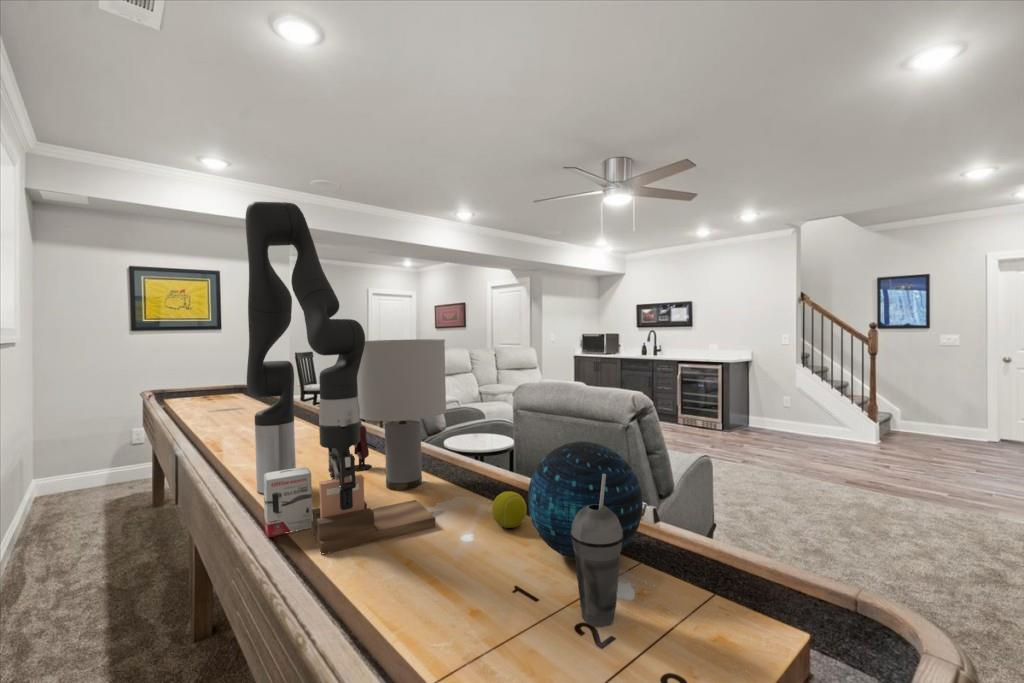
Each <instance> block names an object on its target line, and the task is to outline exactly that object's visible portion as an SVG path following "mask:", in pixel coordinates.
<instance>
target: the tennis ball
mask: <svg viewBox="0 0 1024 683" xmlns="http://www.w3.org/2000/svg"><path fill="white" fill-rule="evenodd" d="M527 508H528V507H527V503H526V501H525V499H524V498H523V497H522V495H520V494H519V493H517V492H515V491H503V492H501V493H500V494H498V495H497V496H496V497H495V498H494V499H493V502H492V506H491V512H492V517H493V518H494V521H495V522H496V523H497V525H498V526H500V527H503V528H505V529H512V528H516V527H518V526H520V525H521V524H523V522H524V520H525V519H526V516H527V510H528V509H527Z"/></svg>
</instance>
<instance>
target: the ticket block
mask: <svg viewBox="0 0 1024 683" xmlns="http://www.w3.org/2000/svg"><path fill="white" fill-rule="evenodd" d="M367 507H368V504H367V502H366V501H365V500H364V509H363V510H358V511H353V512H348V513H343V514H338V515H333V516H328V517H324V518H320V507H317V508H312V528H311V532H312V534H313V538H314V537H315V538H314V540H315V542H317V543H316V545H317V544H318V545H317V547H319V548H318V549H320V550H319V552H321V553H320V555H321V554H322V553H326V554H329V553H328V552H330V553H334V552H337V551H341V550H346V549H350V548H354V547H359V546H362V545H367V544H370V543H375V542H379V540H380V541H384V540H388V539H391V537H392V538H395V537H396V538H397V537H400V536H405V535H408V534H412V533H416V532H419V531H421V532H422V531H424V530H428V529H433V528H436V516H434V514H432V513H431V512H430V511H429V510H428V509H427V508H425V506H424V505H422V504H421V503H420V502H419V501H418V500H417V499H414V500H412V499H411V500H409V501H403V502H399V503H398V502H397V503H393V504H390V505H389V504H388V505H384V506H379V507H375V508H371V507H369V508H367ZM387 538H388V539H387ZM383 539H384V540H383ZM322 555H323V554H322Z"/></svg>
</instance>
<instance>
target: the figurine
mask: <svg viewBox="0 0 1024 683" xmlns="http://www.w3.org/2000/svg"><path fill="white" fill-rule="evenodd" d="M368 446H370V447H372V448H374V449H375V450H376V449H378V448H377V446H374V445H373V444H371V443H368V441H367V427H366V426H365V425H364V424H362V419H360V442H359V443H358V444H356V445H353V447H354V455H356V456H357V457H358V464H355V471H357V472H364V470H365V471H369V470H371V469H372V468H373V465H371V464H366V463H365V462H366V461H365V460H366V458H368V457H369V455H370V451H369V448H368ZM370 468H371V469H370ZM368 469H369V470H368Z"/></svg>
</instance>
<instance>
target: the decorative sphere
mask: <svg viewBox="0 0 1024 683" xmlns="http://www.w3.org/2000/svg"><path fill="white" fill-rule="evenodd" d="M602 474H606V480H605V490H604V500H603V506H605V507H607V508H609V509H610V510H611V511H612V512H613V513H614V514H615V515H616V516H617V518H618V520H619V522H620V525H621V528H622V534H623V537H624V538H623V541H622V548H621V551H622V550H623V549H625V547H627V545H628V544H629V543H630V542H631V541H632V539H633V538H634V536H635V535H636V532H637V531H638V529H639V525H640V522H641V520H642V516H643V508H644V507H643V506H644V505H643V497H642V495H643V494H642V489H641V485H640V482H639V480H638V477H637V475H636V473H635V472H634V470H633V468H632V467H631V466H630V464H629V463H628V462H627V461H626V459H625V458H623V457H622V456H621V455H619V454H618V453H617V452H616V451H614V450H613V449H611V448H609V447H607V446H605V445H602V444H599V443H595V442H591V441H574V442H569V443H565V444H563V445H561V446H559V447H556V448H555V449H553V450H551V451H550V452H549V453H548V454H547V455H545V456H544V457H543V458H542V459H541V461H540V462H539V463H538V465H537V466H536V468H535V469H534V472H533V474H532V476H531V477H530V481H529V485H528V492H527V494H528V495H527V505H528V507H527V508H528V513H529V516H530V519H531V522H532V525H533V527H534V529H535V530H536V531H537V533H538V536H539V537H540V538H541V539H542V541H543V542H544V543H545V544H546V545H547V546H548V547H549V548H550V549H552V550H553V551H555V552H556V553H558V554H559V555H561V556H563V557H565V558H567V559H570V560H575V561H576V558H575V551H574V548H573V543H572V538H571V534H570V533H571V530H572V523H573V520H574V518H575V516H576V515H577V513H578V512H579V511H580V510H581V509H582V508H584V507H586V506H588V505H592V504H599V503H600V494H601V484H602Z"/></svg>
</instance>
